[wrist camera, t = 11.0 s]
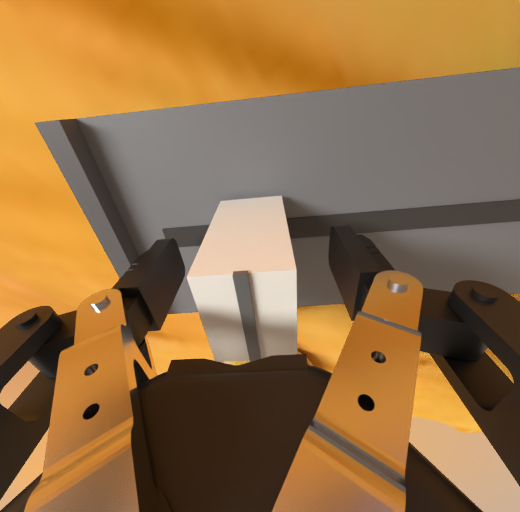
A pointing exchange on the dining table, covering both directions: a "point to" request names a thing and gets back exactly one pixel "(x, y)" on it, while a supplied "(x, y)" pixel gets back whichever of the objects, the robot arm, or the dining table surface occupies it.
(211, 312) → the fader cap
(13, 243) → the dining table surface
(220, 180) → the fader board
